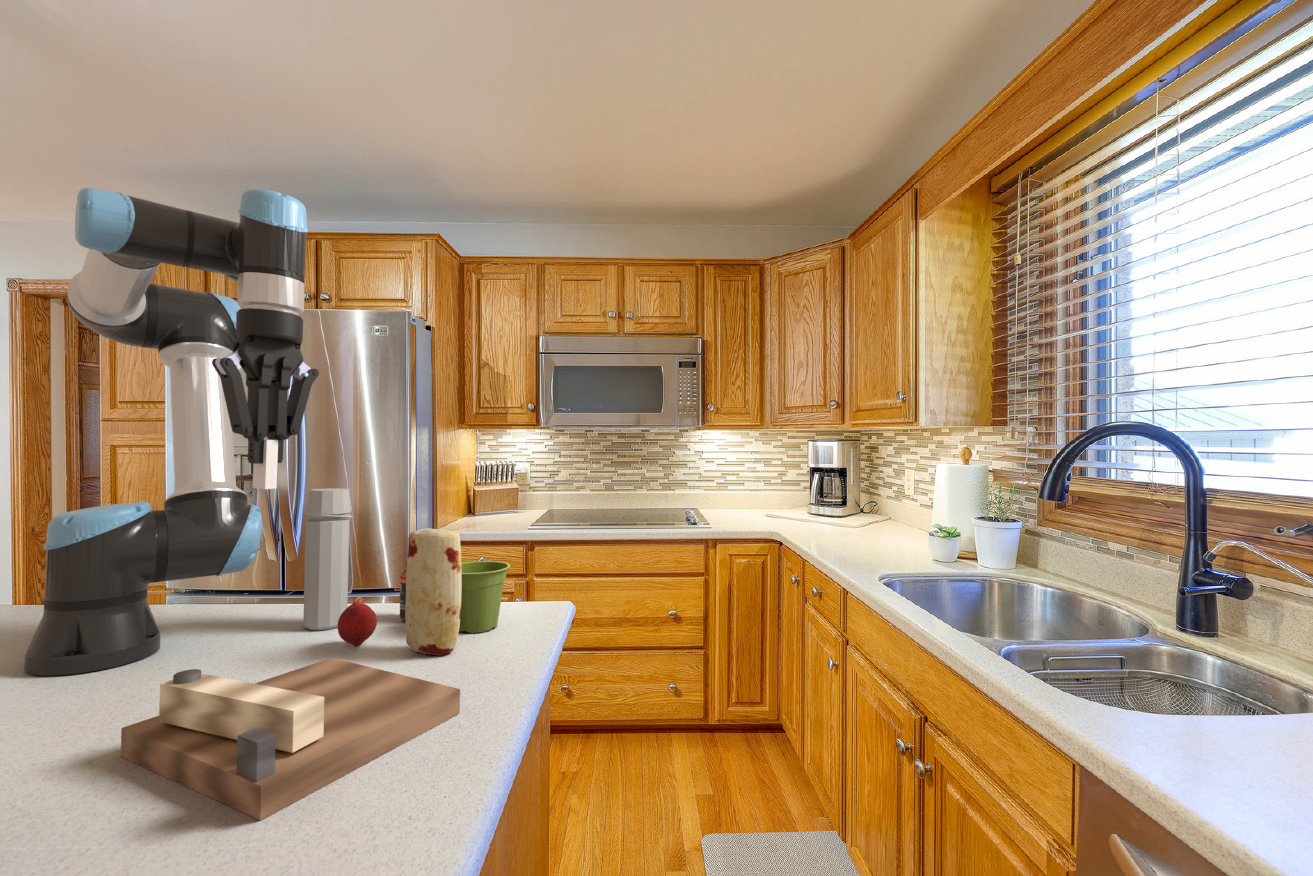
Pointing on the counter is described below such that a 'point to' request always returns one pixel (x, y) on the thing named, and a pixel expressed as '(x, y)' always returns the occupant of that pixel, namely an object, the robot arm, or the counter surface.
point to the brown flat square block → (267, 780)
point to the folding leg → (241, 709)
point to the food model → (433, 591)
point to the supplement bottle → (403, 595)
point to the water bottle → (327, 558)
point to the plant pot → (481, 594)
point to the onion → (357, 623)
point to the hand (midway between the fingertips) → (264, 488)
